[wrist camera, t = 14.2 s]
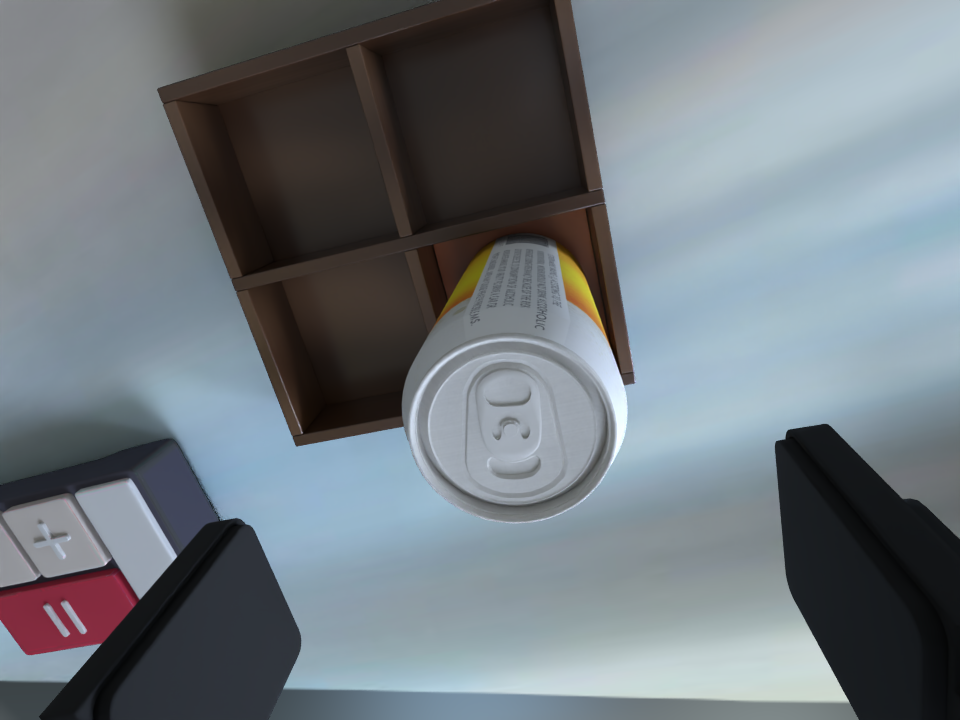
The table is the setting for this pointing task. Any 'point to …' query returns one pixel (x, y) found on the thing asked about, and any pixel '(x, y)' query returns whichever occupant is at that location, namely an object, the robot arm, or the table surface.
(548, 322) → the beer can
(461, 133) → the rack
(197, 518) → the calculator
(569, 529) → the table surface
